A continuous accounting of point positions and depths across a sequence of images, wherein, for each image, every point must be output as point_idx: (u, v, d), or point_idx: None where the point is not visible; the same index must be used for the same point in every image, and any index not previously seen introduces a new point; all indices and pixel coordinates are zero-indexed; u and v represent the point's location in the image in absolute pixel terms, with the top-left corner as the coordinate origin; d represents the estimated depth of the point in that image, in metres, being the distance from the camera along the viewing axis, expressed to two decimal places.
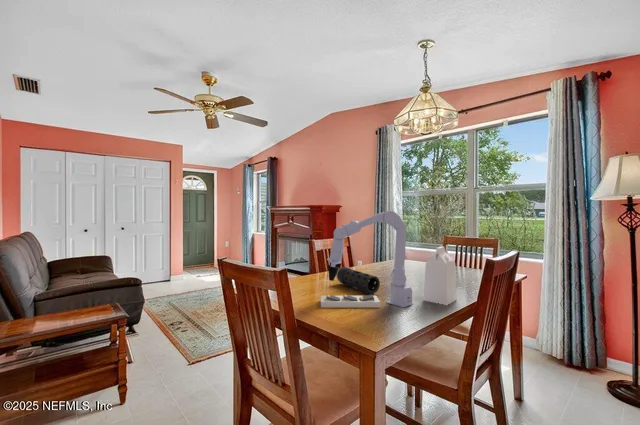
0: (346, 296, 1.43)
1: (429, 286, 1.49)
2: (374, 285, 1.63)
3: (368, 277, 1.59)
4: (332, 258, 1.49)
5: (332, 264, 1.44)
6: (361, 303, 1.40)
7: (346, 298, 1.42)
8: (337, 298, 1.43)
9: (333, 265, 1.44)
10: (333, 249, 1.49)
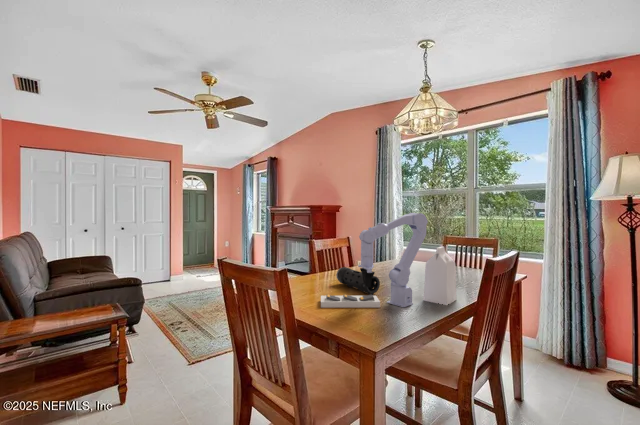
0: (346, 296, 1.43)
1: (429, 286, 1.49)
2: (374, 285, 1.63)
3: None
4: (365, 264, 1.41)
5: (368, 270, 1.36)
6: (361, 303, 1.40)
7: (346, 298, 1.42)
8: (337, 298, 1.43)
9: (370, 271, 1.36)
10: (365, 254, 1.41)
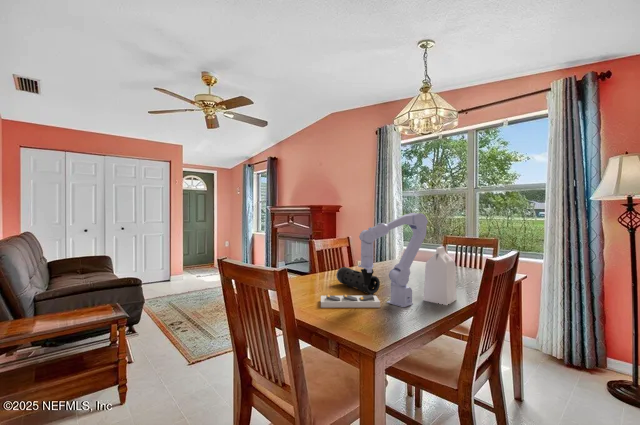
0: (346, 296, 1.43)
1: (429, 286, 1.49)
2: (374, 285, 1.63)
3: None
4: (365, 264, 1.41)
5: (368, 270, 1.36)
6: (361, 303, 1.40)
7: (346, 298, 1.42)
8: (337, 298, 1.43)
9: (370, 271, 1.36)
10: (365, 254, 1.41)
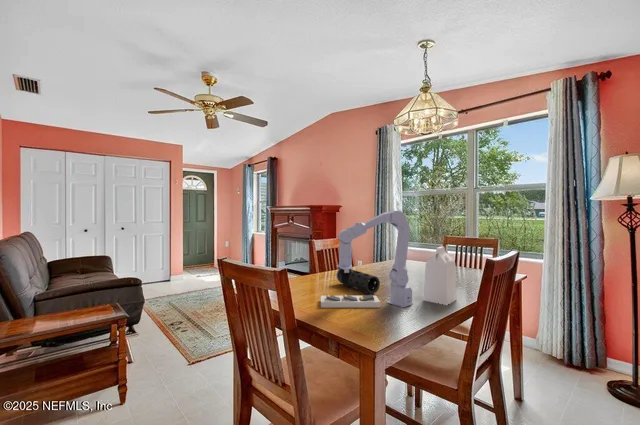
0: (346, 296, 1.43)
1: (429, 286, 1.49)
2: (374, 285, 1.63)
3: (368, 277, 1.59)
4: (342, 264, 1.41)
5: (345, 270, 1.36)
6: (361, 303, 1.40)
7: (346, 298, 1.42)
8: (337, 298, 1.43)
9: (347, 271, 1.36)
10: (342, 254, 1.41)
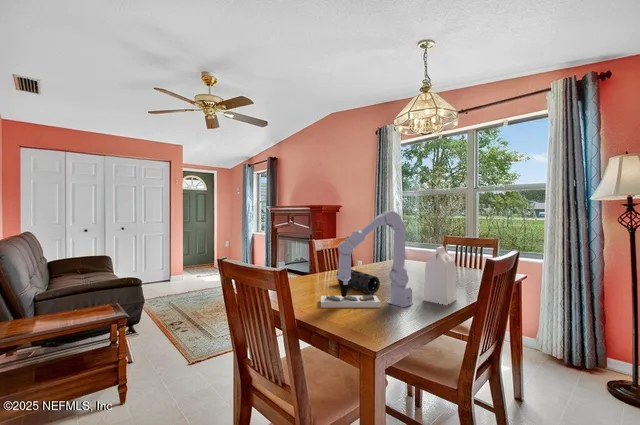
0: (346, 296, 1.43)
1: (429, 286, 1.49)
2: (374, 285, 1.63)
3: (368, 277, 1.59)
4: (342, 275, 1.41)
5: (344, 282, 1.36)
6: (361, 303, 1.40)
7: (346, 298, 1.42)
8: (337, 298, 1.43)
9: (346, 283, 1.36)
10: (342, 266, 1.41)
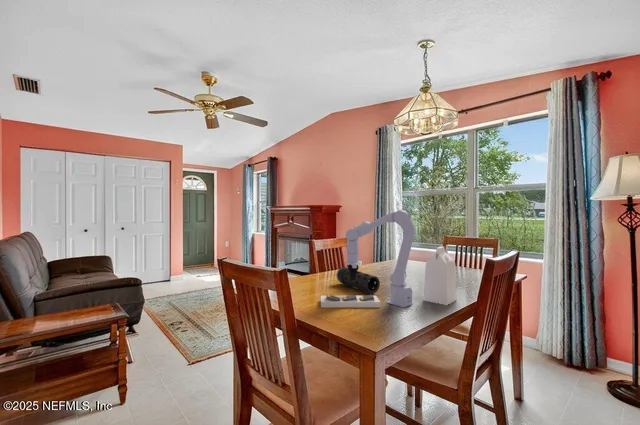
0: (345, 298, 1.43)
1: (429, 286, 1.49)
2: (374, 285, 1.63)
3: (368, 277, 1.59)
4: (350, 260, 1.51)
5: (353, 265, 1.47)
6: (361, 303, 1.40)
7: (346, 300, 1.42)
8: (337, 298, 1.43)
9: (354, 266, 1.47)
10: (348, 251, 1.52)
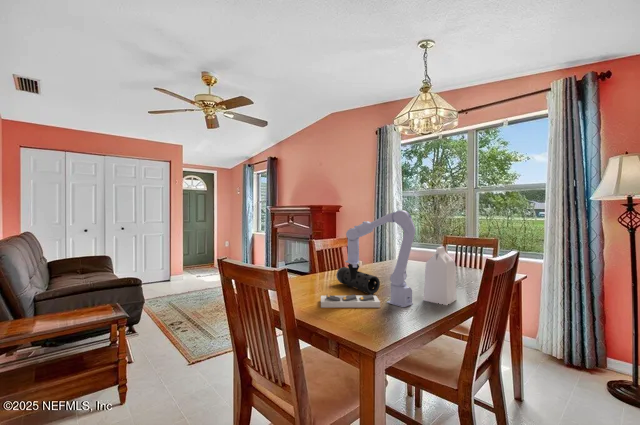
0: (345, 298, 1.43)
1: (429, 286, 1.49)
2: (374, 285, 1.63)
3: (368, 277, 1.59)
4: (351, 259, 1.52)
5: (354, 265, 1.47)
6: (361, 303, 1.40)
7: (346, 300, 1.42)
8: (337, 298, 1.43)
9: (355, 266, 1.47)
10: (348, 250, 1.53)
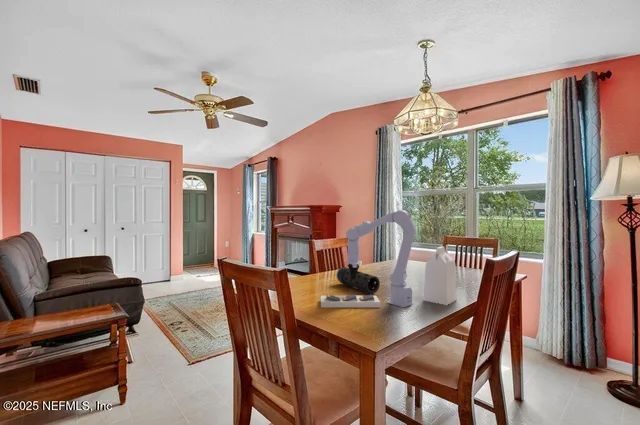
0: (345, 298, 1.43)
1: (429, 286, 1.49)
2: (374, 285, 1.63)
3: (368, 277, 1.59)
4: (351, 259, 1.52)
5: (354, 265, 1.47)
6: (361, 303, 1.40)
7: (346, 300, 1.42)
8: (337, 298, 1.43)
9: (355, 266, 1.47)
10: (348, 250, 1.53)
